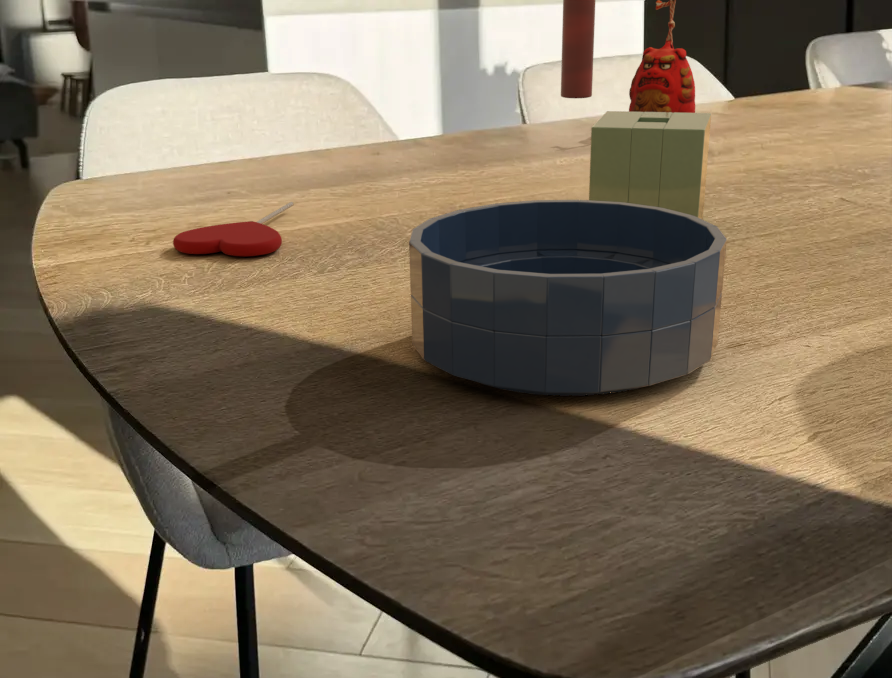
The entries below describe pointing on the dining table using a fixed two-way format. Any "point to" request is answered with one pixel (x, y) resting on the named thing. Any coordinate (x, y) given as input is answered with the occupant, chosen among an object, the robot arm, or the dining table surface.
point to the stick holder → (651, 159)
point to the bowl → (566, 295)
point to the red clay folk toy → (663, 77)
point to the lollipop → (232, 238)
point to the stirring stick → (577, 48)
